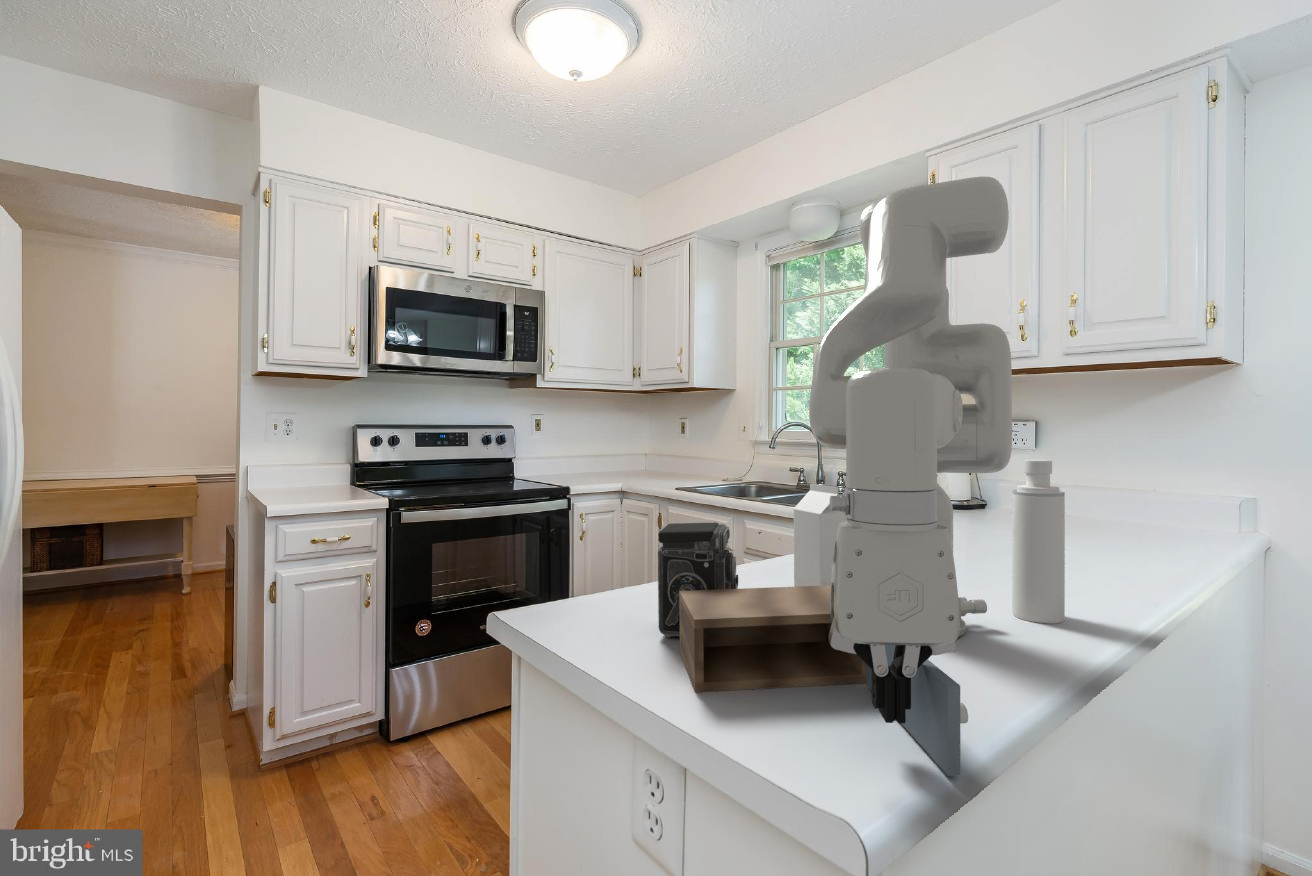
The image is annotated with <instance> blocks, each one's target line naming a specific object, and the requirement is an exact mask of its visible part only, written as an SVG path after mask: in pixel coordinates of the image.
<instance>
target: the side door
mask: <svg viewBox="0 0 1312 876" xmlns="http://www.w3.org/2000/svg"><path fill="white" fill-rule="evenodd" d="M885 651H886V657H887V663H888V666H889V665H892V661H893V658H894V652H895V645H885ZM865 684H866V685H867V687H868V688H869V689H870V691H872V669H871V668H870V667H869V666H868V665H867V664H866V683H865ZM968 722H969V713H968V709H967V707H966V705H965V704H964V703H963V702H961V684H959V683H958V682H957V681H955V680H954V679H953V678H952V677H950V676H949V675H948V674H947V673H945V672H944V671H943V670H942V669H940V668H939V667H938V666H937V665H935V664H934V663H933V662H932V661H931V660H929V658H928V659H927V660H926V661H925V662H924V663H923V664H922V665H921V666H920V667H919V668H918V669H917V672H916V674H915V676H913V677H911V709H910V710H907V709H906V722H905V723H901V725H902V726H903V727H904V728H905V730H907V731H908V733H910V735H911V736H912V737H913V738H914V739H915V740H916V742H918V744H919V745H920V746H921V748H923V750H925V752H926V753H927V754H928V755H929V756H930V757H931V758H932V760H933V761H934V762H935V763H936V765H938V766H939V767H940V769H941V770H943V772H944V773H945V774H946V775H947V776H948V777H956V776H957V777H958V776H959V777H960V776H961V724H967V723H968Z"/></svg>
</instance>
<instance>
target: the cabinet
mask: <svg viewBox="0 0 1312 876" xmlns="http://www.w3.org/2000/svg"><path fill="white" fill-rule="evenodd" d="M830 591H831V585H825V586H798V587H794V586H777V587H775V586H774V587H773V586H772V587H752V588H751V587H749V588H748V587H747V588H746V587H745V588H744V587H743V588H738V589H717V590H691V591H679V611H680V636H679V655H680V656H681V660H682V662H683V665H684V667H685V670H686V673H687V675H688V678H689V681H690V684H691V685H692V688H693V691H694V693H703V692H704V693H706V692H708V693H709V692H722V691H723V692H724V691H742V690H743V691H744V690H760V689H761V690H765V689H779V688H780V689H782V688H800V687H801V688H802V687H817V686H836V685H837V686H838V685H839V686H840V685H855V684H866V663H865V662H864V661H863V660H862V659H861V658H860V657H859V656H858V655H857V654H853V653H848V652H844V651H840V650H837V649H834V648H832V647H831V645H830V643H829V641H828V637H829V633H830V629H831V625H832V620H831V615H830Z"/></svg>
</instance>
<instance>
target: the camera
mask: <svg viewBox="0 0 1312 876" xmlns="http://www.w3.org/2000/svg"><path fill="white" fill-rule="evenodd" d="M729 539H730V528H729V526H727V524H725V523H724V524H723V523H722V524H721V523H720V524H719V522H684V523H683V522H682V523H679V522H678V523H677V522H676V523H668V524H667V525H666V526H664V527H663V528H662V529H661V530H659V532H658V540H657V541H658V542H659V543H660V544H662V546H661V547H660V548H659V549H658V550H657V591H658V592H657V594H658V595H657V596H658V599H657V600H658V601H657V604H658V605H657V606H658V630H659V632H660V633H661V634H662V635H664V636H665V637H666V638H671V637H680V611H679V591H691V590H717V589H739V588H738V587H739V574H737V558H736V556H735V555H734V553H733V552H731V551H730V549H726V547H727V546H728V544H729Z"/></svg>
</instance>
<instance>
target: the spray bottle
mask: <svg viewBox="0 0 1312 876" xmlns="http://www.w3.org/2000/svg"><path fill="white" fill-rule="evenodd" d="M1023 463H1024V464H1023V468H1024V469H1023V471H1024V472H1023V473H1024V474H1025V484H1020V485H1017V487H1016V489H1013V490H1012V498H1011V503H1012V504H1011V505H1012V509H1011V510H1012V513H1011V514H1012V515H1011V518H1012V519H1011V520H1012V521H1011V523H1012V524H1011V525H1012V527H1011V533H1012V535H1011V537H1012V539H1011V555H1012V556H1011V557H1012V558H1011V560H1012V562H1011V574H1012V575H1011V579H1012V580H1011V583H1012V584H1011V588H1012V589H1011V591H1012V595H1011V596H1012V597H1011V598H1012V599H1011V600H1012V601H1011V612H1012V615H1013V616H1014V617H1016V618H1018V619H1020V620H1024V621H1028V622H1031V623H1038V624H1049V625H1050V624H1060V623H1063V622H1064V621H1065V619H1066V618H1065V617H1066V615H1065V611H1066V610H1065V604H1066V603H1065V599H1066V598H1065V595H1066V594H1065V593H1066V590H1065V589H1066V588H1065V583H1066V580H1065V578H1066V577H1065V575H1066V573H1065V571H1066V570H1065V568H1066V567H1065V565H1066V562H1065V561H1066V560H1065V558H1066V553H1065V550H1066V547H1065V545H1066V539H1065V537H1066V533H1065V532H1066V531H1065V530H1066V526H1065V524H1066V522H1065V521H1066V517H1065V516H1066V515H1065V514H1066V512H1065V508H1066V507H1065V506H1066V505H1065V499H1066V498H1065V494H1066V493H1065V491H1061V489H1060V486H1057V485H1056V486H1055V485H1051V475H1052V474H1053V460H1052V459H1024V461H1023Z"/></svg>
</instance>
